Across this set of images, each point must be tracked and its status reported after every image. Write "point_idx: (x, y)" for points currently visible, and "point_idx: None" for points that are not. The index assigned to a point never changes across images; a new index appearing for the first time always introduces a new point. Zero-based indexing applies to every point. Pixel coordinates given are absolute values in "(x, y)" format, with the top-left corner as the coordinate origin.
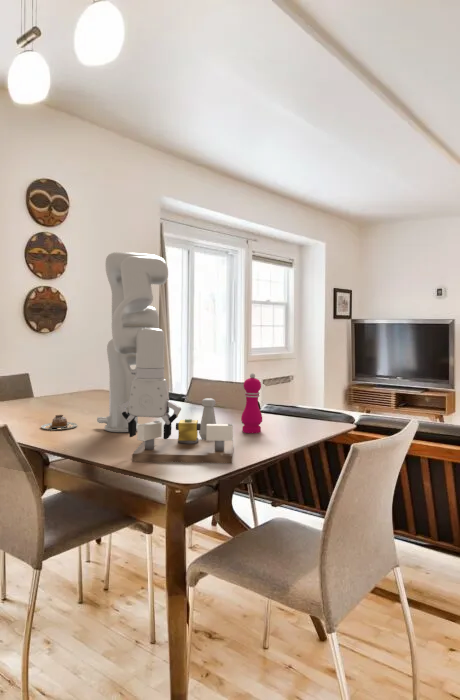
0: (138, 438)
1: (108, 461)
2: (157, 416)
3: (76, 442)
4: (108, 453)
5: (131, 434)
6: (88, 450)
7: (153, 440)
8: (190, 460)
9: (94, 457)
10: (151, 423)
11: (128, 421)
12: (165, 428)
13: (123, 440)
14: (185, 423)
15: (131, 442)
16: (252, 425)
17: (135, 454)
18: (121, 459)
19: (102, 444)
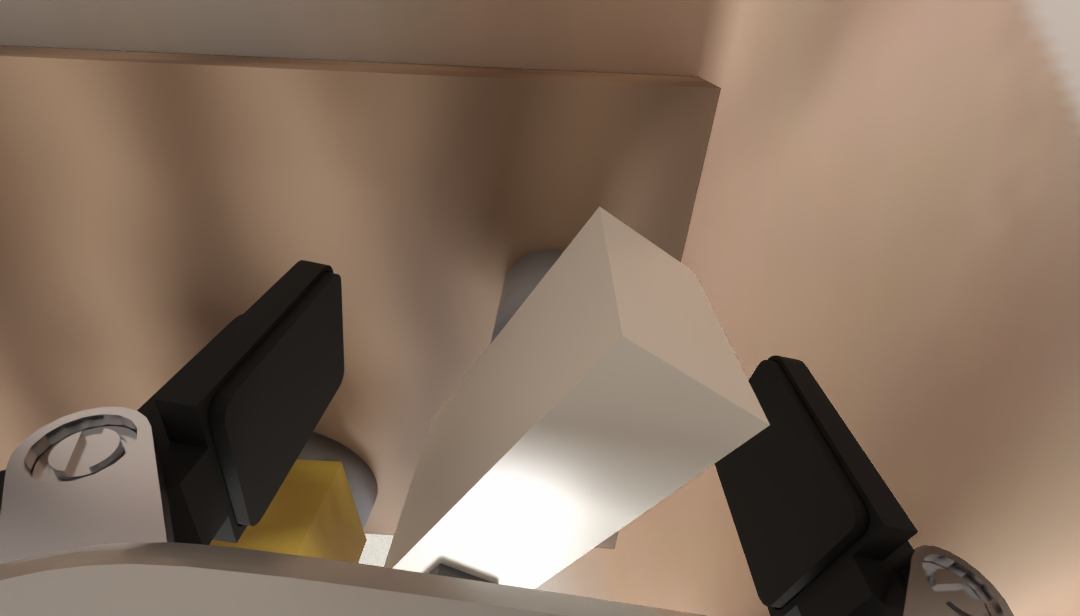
0: (682, 272)
1: (949, 70)
2: (159, 563)
3: (1038, 553)
4: (887, 339)
5: (785, 376)
6: (1023, 409)
7: (497, 321)
8: (96, 53)
9: (1046, 219)
10: (509, 524)
11: (937, 568)
12: (220, 350)
13: (744, 576)
14: None
15: (699, 548)
16: None
17: (682, 84)
18: (801, 156)
19: None
